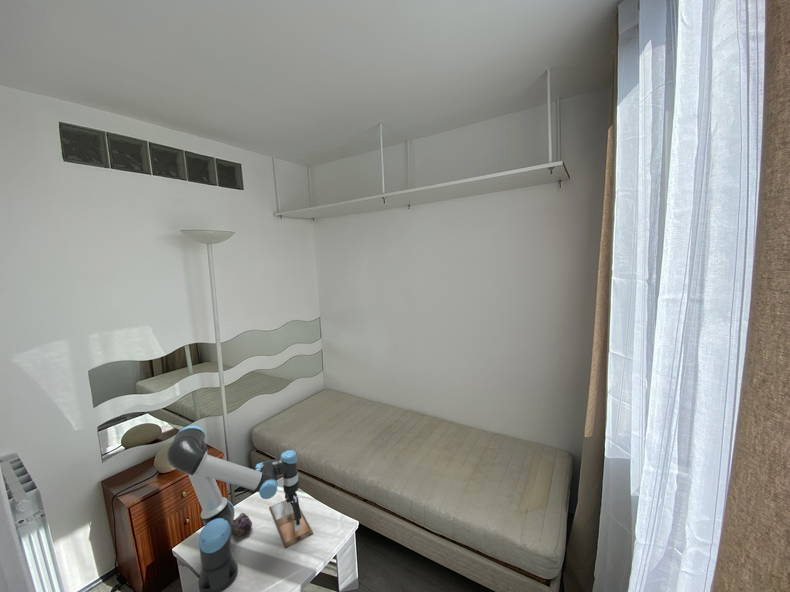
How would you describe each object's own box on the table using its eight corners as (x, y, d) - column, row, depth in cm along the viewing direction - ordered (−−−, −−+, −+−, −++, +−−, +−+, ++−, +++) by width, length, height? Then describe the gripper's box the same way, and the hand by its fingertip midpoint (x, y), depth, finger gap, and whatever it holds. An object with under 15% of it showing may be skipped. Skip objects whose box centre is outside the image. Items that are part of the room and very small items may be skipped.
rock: (230, 535, 156) (246, 543, 160) (243, 516, 161) (258, 524, 165) (223, 525, 165) (238, 533, 169) (236, 507, 169) (250, 515, 174)
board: (285, 548, 154) (285, 547, 154) (269, 508, 182) (268, 507, 182) (313, 533, 162) (313, 532, 162) (293, 497, 189) (293, 496, 189)
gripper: (306, 492, 155) (309, 533, 157) (291, 467, 176) (293, 504, 177) (290, 499, 151) (293, 541, 153) (276, 472, 171) (279, 510, 173)
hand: (293, 521), depth 165 cm, fingers open, 13 cm apart
